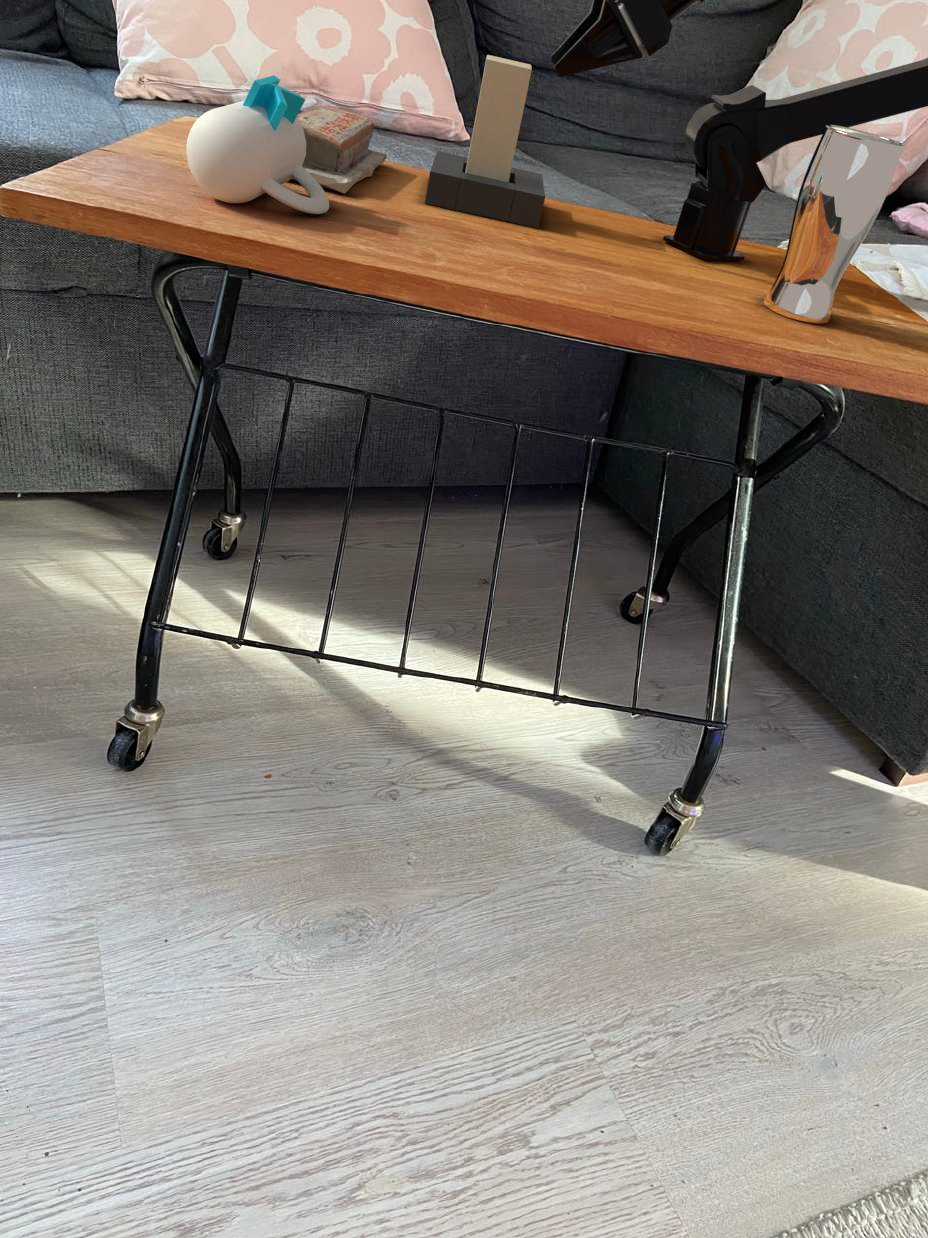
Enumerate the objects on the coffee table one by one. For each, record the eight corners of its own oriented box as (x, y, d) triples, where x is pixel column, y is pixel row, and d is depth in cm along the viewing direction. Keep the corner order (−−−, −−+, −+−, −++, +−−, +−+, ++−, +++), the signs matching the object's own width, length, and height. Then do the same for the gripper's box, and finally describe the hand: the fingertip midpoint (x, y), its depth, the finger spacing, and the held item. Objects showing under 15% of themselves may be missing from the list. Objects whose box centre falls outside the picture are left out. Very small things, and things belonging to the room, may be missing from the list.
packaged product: (301, 95, 105) (392, 117, 105) (297, 144, 107) (385, 165, 107) (247, 114, 90) (353, 140, 90) (243, 171, 92) (346, 196, 92)
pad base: (535, 203, 107) (542, 173, 105) (538, 228, 97) (545, 196, 96) (432, 180, 106) (437, 150, 104) (424, 203, 96) (430, 171, 95)
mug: (207, 66, 75) (261, 57, 85) (159, 171, 80) (216, 151, 90) (336, 166, 77) (374, 145, 87) (282, 262, 82) (324, 232, 92)
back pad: (502, 203, 103) (531, 64, 96) (502, 212, 100) (532, 69, 93) (461, 194, 103) (487, 54, 96) (459, 203, 99) (486, 58, 92)
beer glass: (744, 301, 90) (808, 121, 81) (781, 295, 94) (846, 125, 86) (811, 329, 86) (885, 144, 78) (846, 322, 91) (920, 147, 82)
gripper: (647, -130, 93) (508, -19, 98) (675, -145, 78) (509, -13, 83) (701, -15, 98) (566, 85, 103) (737, -7, 83) (576, 109, 88)
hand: (554, 66), depth 94 cm, fingers open, 9 cm apart
